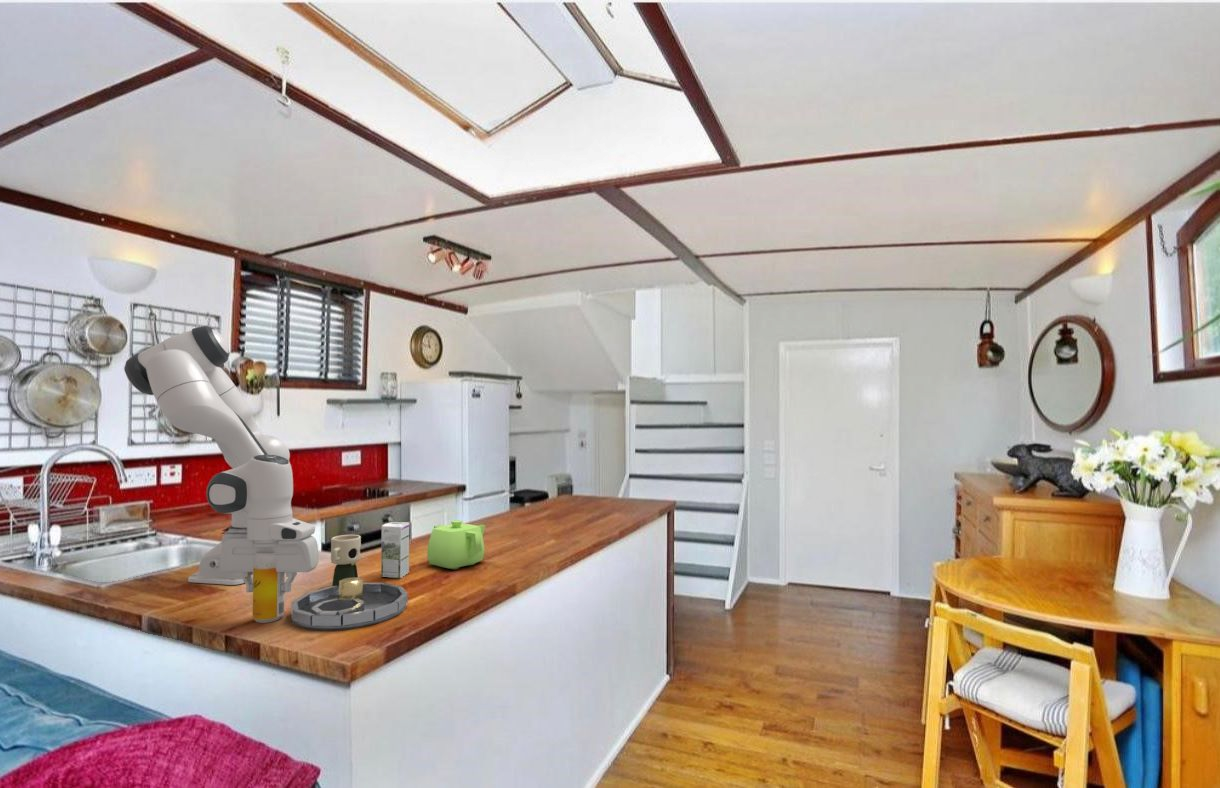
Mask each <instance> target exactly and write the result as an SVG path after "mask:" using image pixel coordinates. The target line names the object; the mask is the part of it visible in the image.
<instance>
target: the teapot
mask: <svg viewBox="0 0 1220 788" xmlns="http://www.w3.org/2000/svg"><path fill="white" fill-rule="evenodd" d="M485 530H486V525H485V524H478V525H474V524H470V523H469V524H468V523H463V520H460V519H459V520H458V519H455V520H451V521H450V524H447V525H441V524H439V525H434V526H433V528H432V530H431V534H430V536H429V541H428V544H427V552H426V555H427V561H428V563H429V565H433V566H437V567H441V568H444V569H445V568H446V569H450V570H458V569H460V568H462V567H465V566H473V565H475V564H476V563H478V562H481V561H483V559H484V556H485V543H484V538H483V537H484V532H485Z"/></svg>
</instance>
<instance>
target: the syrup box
mask: <svg viewBox="0 0 1220 788" xmlns="http://www.w3.org/2000/svg"><path fill="white" fill-rule="evenodd" d="M380 544H381V545H380V547H381V553H380V556H381V560H380V561H381V563H380V565H381V567H380V568H381V572H380V574H381V576H380V578H381V577H388V578H387V579H402V578H404V577H405V575H406V574H407V575H409V574H408V573H410V522H408V521H407V522H405V521H404V522H401V521H400V522H398V521H397V522H396V521H390V522H386V523H384V524H382V525H381V543H380ZM407 575H406V576H407ZM403 576H404V577H403Z"/></svg>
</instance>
